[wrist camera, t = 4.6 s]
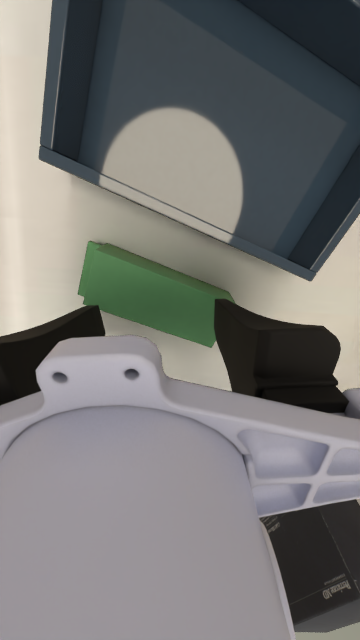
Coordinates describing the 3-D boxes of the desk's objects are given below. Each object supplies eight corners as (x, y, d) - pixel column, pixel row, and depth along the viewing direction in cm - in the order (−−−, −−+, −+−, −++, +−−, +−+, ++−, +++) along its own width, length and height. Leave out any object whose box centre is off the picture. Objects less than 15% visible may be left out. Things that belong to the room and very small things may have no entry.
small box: (280, 504, 35) (326, 635, 24) (242, 497, 33) (273, 632, 23) (334, 459, 29) (425, 606, 18) (291, 449, 28) (362, 600, 17)
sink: (285, 267, 17) (311, 282, 13) (70, 170, 13) (37, 159, 10) (391, 101, 12) (467, 64, 9) (109, -100, 9) (74, -264, 6)
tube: (241, 297, 18) (251, 310, 15) (219, 335, 19) (225, 352, 17) (95, 238, 15) (81, 243, 13) (85, 287, 17) (70, 300, 15)
